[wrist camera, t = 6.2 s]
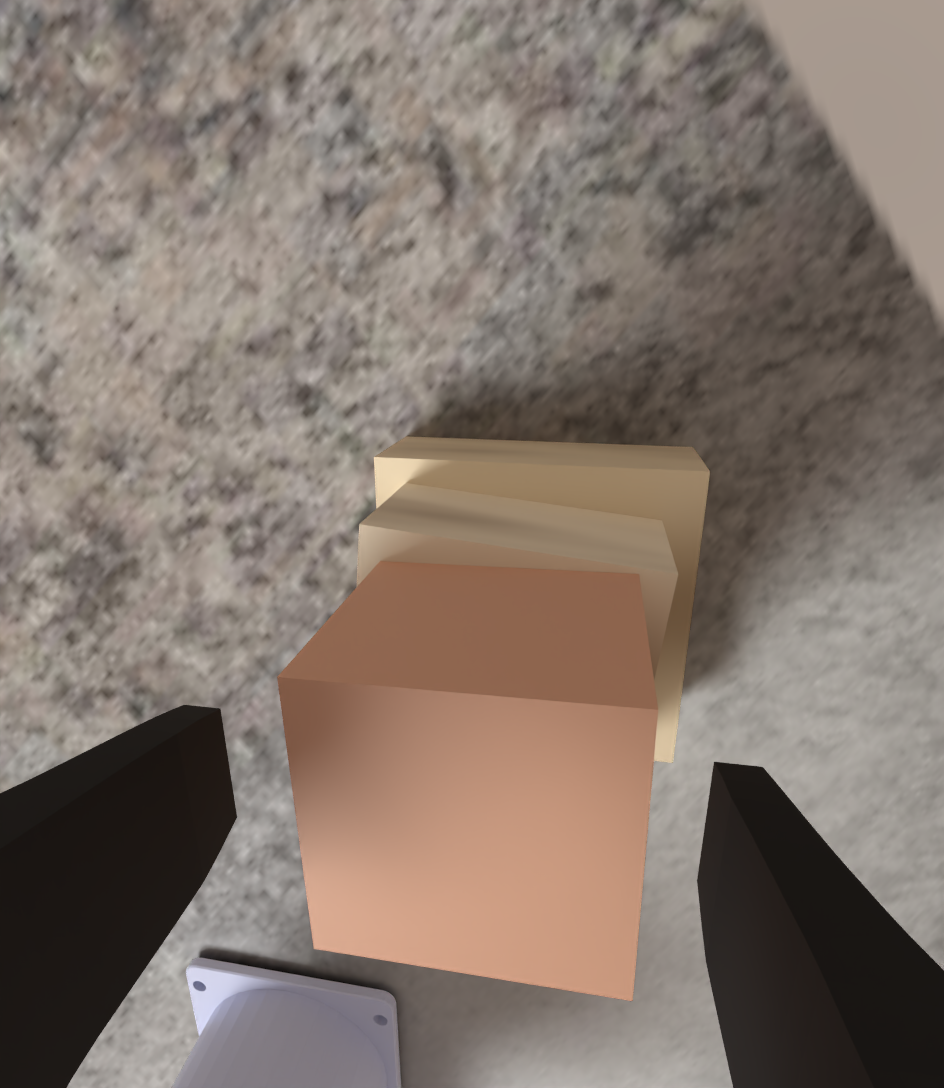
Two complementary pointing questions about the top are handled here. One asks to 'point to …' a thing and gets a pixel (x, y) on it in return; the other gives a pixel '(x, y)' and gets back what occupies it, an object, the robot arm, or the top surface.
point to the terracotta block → (478, 772)
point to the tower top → (521, 541)
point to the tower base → (588, 483)
